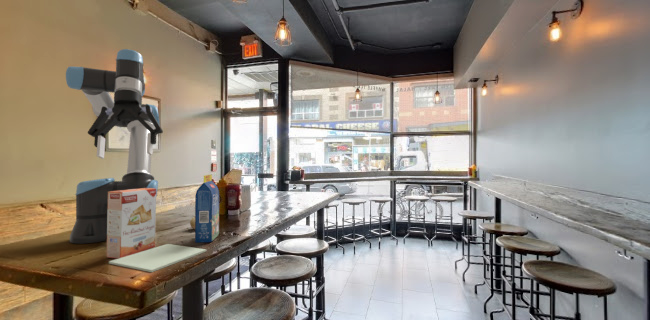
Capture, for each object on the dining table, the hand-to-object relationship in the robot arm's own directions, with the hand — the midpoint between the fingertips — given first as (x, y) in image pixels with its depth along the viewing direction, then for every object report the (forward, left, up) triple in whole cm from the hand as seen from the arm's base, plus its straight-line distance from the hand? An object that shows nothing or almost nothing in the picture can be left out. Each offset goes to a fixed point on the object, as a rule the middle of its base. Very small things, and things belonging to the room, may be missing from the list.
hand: (125, 155), depth 90 cm
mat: (+8, +6, -32) cm, 34 cm away
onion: (-10, +40, -32) cm, 52 cm away
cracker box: (-5, +6, -32) cm, 33 cm away
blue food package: (+5, +29, -32) cm, 44 cm away
